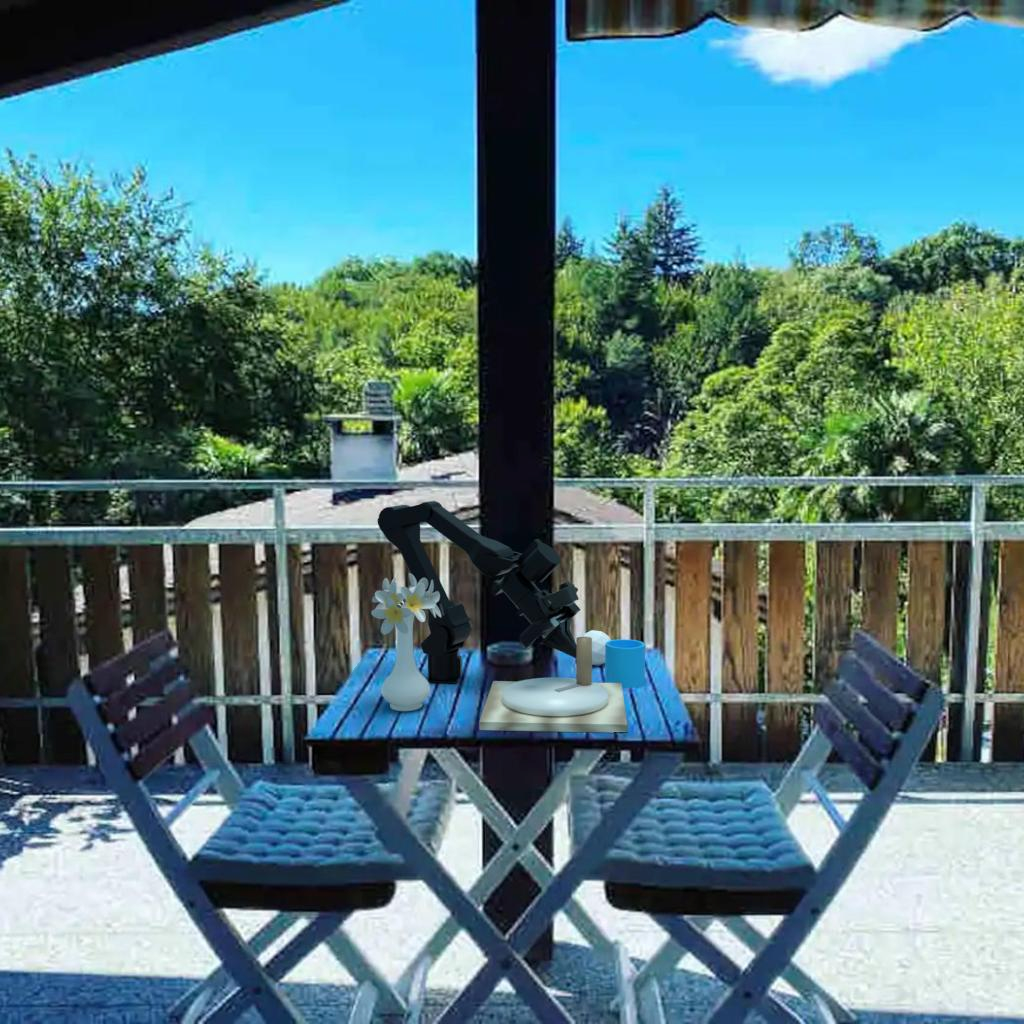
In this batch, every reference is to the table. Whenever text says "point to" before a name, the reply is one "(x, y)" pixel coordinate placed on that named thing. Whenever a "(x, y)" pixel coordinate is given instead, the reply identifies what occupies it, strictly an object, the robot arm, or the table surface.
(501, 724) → the dial board
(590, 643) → the dial
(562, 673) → the table surface
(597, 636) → the ball
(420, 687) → the flower vase
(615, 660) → the mug
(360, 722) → the table surface
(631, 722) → the table surface
